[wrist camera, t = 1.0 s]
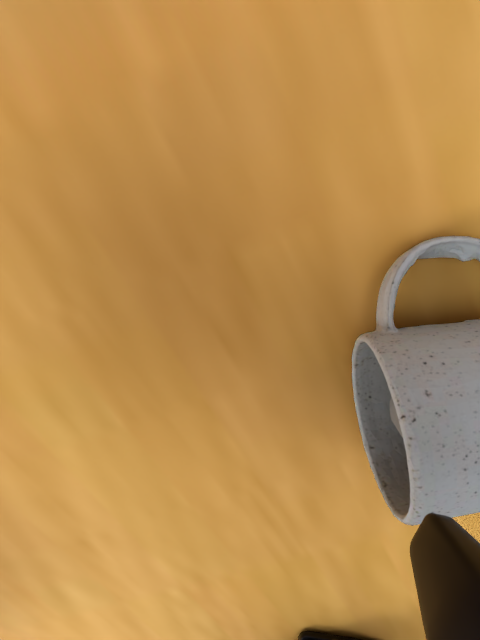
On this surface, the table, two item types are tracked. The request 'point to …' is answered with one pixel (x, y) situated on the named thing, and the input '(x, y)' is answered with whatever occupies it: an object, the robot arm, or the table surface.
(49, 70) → the table surface
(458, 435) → the ceramic mug
